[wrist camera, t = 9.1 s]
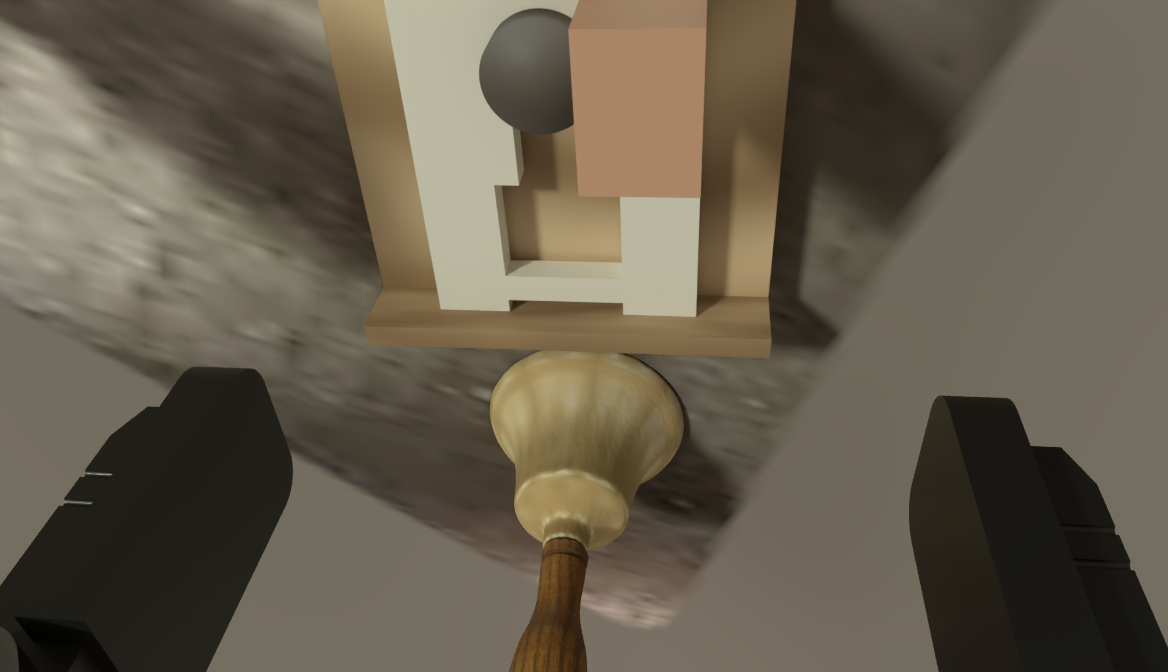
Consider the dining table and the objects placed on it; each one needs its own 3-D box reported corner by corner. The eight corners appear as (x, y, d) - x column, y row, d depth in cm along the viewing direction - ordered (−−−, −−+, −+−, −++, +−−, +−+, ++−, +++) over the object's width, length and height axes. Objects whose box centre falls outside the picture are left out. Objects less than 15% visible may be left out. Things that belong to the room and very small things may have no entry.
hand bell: (535, 312, 35) (437, 690, 23) (720, 394, 37) (722, 790, 24) (463, 441, 40) (350, 808, 28) (628, 508, 42) (591, 884, 29)
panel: (309, -485, 20) (87, -541, 13) (724, -519, 19) (727, -600, 12) (447, 292, 33) (374, 476, 26) (696, 299, 32) (690, 493, 25)
